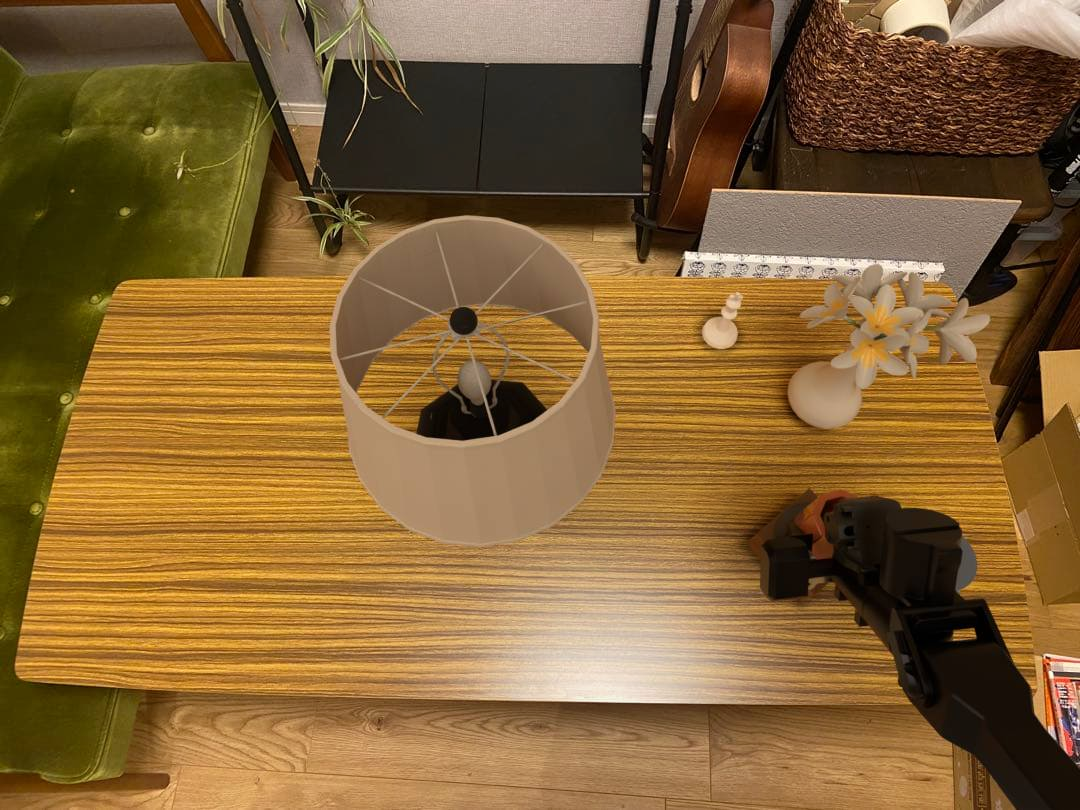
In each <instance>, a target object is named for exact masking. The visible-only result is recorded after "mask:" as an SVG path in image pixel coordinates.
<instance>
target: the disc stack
mask: <svg viewBox="0 0 1080 810" xmlns="http://www.w3.org/2000/svg"><path fill="white" fill-rule="evenodd" d="M960 548H962V551H963V554H962V560H961V565H960V567H959V570H958V575H957V582H956V588H955V590H956V591H957V592H958V594H960V592H961V591H962V590H963V589H966V588H967V587H968V586H969V585H971V584H972V583H973V581H974V580H975V577H976V575H977V573H978V572H977V571H978V560H977V555H976V552H975V550H974V548H973V547H972V545H971V544H970V542H969V541H968V540H967V539H966V538H965V537H964V536H963V535H962V540H961V546H960Z"/></svg>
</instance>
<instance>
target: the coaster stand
mask: <svg viewBox="0 0 1080 810" xmlns="http://www.w3.org/2000/svg"><path fill="white" fill-rule="evenodd" d="M818 497H819V495H817V493H815V492H814V491H813V490H812V489H811V488H810V487H809V488H808V489H807V490H805V491H804V492H803V493H802V494H801V495H799V496H798V498H796V499H795V500H794V501H793V502H791V503H790V504H789V505H788V506H787V507H786V508H785V509H783V510H782V511H781V512H780V513H778V515H776V516H775V517H774V518H773V519H772V520H770V522H768V523H767V524H766V525H765V526H763V527H762V528H761V529H760V530H759V531H758V532H757V533H756V534H754V535H753V537H751V538H750V539H749V540H748V541H747V542H746V543H745V545H746V546H747V547H748V548H749V550H751V552H752V553H753V554H754V555H755V556H756V557H757V558H758V559H759V561H761V547H762V544H763V543H764V542H765V541H766V540H770V539H780V538H786V537H788V536H789V534H788V522H793V521H794V519H795V517H796V516H797V515H798V514H799V513H801V512H802V511H803V510H804V509H805V508H806V507H807V506H809V505H810V504H811V503H812V502H813V501H814V500H815V499H817V498H818ZM823 523H824V521H823ZM827 584H829V583H819V584H816V586H815V587H814V588H813V589H811V590H808V596H807V597H805V598H803V599H796V601H797V602H798V603H799V604H801V603H803V602H805V601H807V600H808V599H811V598H812V597H815V596H816V594H818V593H819V592H820V591H822V589H823V588H824V587H826V586H827Z"/></svg>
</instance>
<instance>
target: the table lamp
mask: <svg viewBox="0 0 1080 810" xmlns="http://www.w3.org/2000/svg"><path fill="white" fill-rule="evenodd" d="M472 307H474V308H475V307H479V308H478V309H477V310H476V311H474V310H473V309H472ZM485 307H498V308H499V307H500V308H508V309H509V308H511V309H517V310H519V311H522V312H525V313H529V315H526V316H522V317H518V318H515V319H510V320H505V321H502V322H499V323H494V324H491V325H489V324H487V323H485V322H480V321H478V315H479V314H480V312H482V310H484V308H485ZM452 310H453V311H452ZM449 311H452V312H451V314H450V316H449V317H447V316H446V315H442V314H443V313H446V312H449ZM435 316H437V317H439V318H440V319H443V320H445V321H447V325H448V329H449V330H448V329H447V330H445V331H440V332H436V333H433V334H429V335H425V336H420V337H417V338H413V339H409V340H405V341H401V342H398V343H393V344H391V343H392V342H393V341H394V340H395V339H396V338H398V337H399V336H401V335H402V334H403V333H405V332H407V331H408V330H410V329H411V328H413V327H414V326H416V325H418V324H419V323H420V322H422V321H425V320H427V319H430V318H432V317H435ZM534 317H542V318H544V319H546V320H548V321H549V322H550V323H552V324H554V325H555V326H557V327H558V328H561V329H562V330H564V331H565V332H567V333H568V334H570V336H571V337H573V338H574V339H575V340H576V341H577V342H578V344H579V345H580V346H581V347H582V348H583V349H584V350H585V351H586V352H587V356H586V359H585V362H584V363H583V366H582V368H581V371H580V373H579V376H578V377H577V378H576V379H574V378H573V377H570V376H568V375H566V374H564V373H562V372H560V371H557V370H556V369H553V368H551V367H550V366H547V365H544V364H543V363H541V362H538V361H536V360H534V359H532V358H530V357H528V356H525V355H524V354H522V353H519V352H517V351H515V350H513V349H511V348H509V346H508V344H507V342H506V340H505V337H503V335H502V334H501V333H500V332H499V331H498V330H497V329H495V328H496V327H499V326H504V325H506V324H512V323H516V322H518V321H519V322H520V321H522V320H526V319H531V318H534ZM485 330H489V331H491V332H492V333H493V334H495V335H496V336H497V337H498V338H499V340H500V341H501V342H502V344H500V343H498V342H496V341H494V340H492V339H489V338H487V337H486V336H483V335H482V334H481V331H485ZM442 335H443V336H442ZM439 336H442V337H441V338H440V340H439V341H438V343H437V345H436V346H435V350H434V353H433V355H432V364H431V365H430V366H429V367H428V369H427V370H425V372H424V373H423V374H422V375H421V376H419V378H418V379H417V380H416V381H415V382H414V383H413V384H412V385H411V386H410V387H409V388H408V389H407V390H406V391H405V392H404V394H403V395H402V396H401V397H400V398H399V399H398V400H397V401H396V402H395V403H394V404H393V405H392V406H391V407H390V408H389V409H388V411H386V413H384V415H379V414H378V413H376V412H375V411H373V410H372V409H371V408H370V407H368V406H367V405H366V404H365V402H364V401H363V400H362V399H361V398H360V396H359V395H358V391H359V388H360V387H361V385H362V383H363V381H364V380H365V378H366V375H367V374H368V372H369V370H370V368H371V366H372V364H373V362H374V361H375V360H376V359H377V358H378V357H379V356H380V355H381V353H382V352H384V350H389V349H393V348H396V347H399V346H404V345H408V344H412V343H416V342H420V341H423V340H427V339H431V338H435V337H439ZM449 336H451V340H452V343H451V344H450V346H448V347H447V348H446V349H445V350H444V352H443V353H441V354H440V356H439V357H438V354H439V350H440V348H441V347H442V345H443V343H444V342H445V341H446V339H447V338H448V337H449ZM471 337H477V338H480V339H482V340H484V341H486V342H488V343H490V344H492V345H494V346H497V347H498V348H501V349H503V350H505V355H506V357H505V363H504V366H503V368H502V370H501V372H500V374H499V376H498V378H497V379H492V376H491V373H490V371H489V369H488V367H487V366H486V365H485V364H484V363H482V362H481V361H479V360H476V359H475V356H474V352H473V348H472V345H471V341H470V338H471ZM464 339H465V340H466V344H467V346H468V347H467V348H468V349H469V350H468V351H469V353H470V357H471V360H467V361H465V362H464V363H463V364H462V365H461V366H460V367H459V369H458V373H457V375H456V377H457V378H456V381H457V384H455V385H454V386H452V387H451V388H450V387H449V386H447V385H446V384H444V382H443V381H442V380H441V379H440V377H439V376H438V372H437V367H436V366H437V364H439V362H440V361H441V360H442V359H443V358H444V356H446V355H447V354H448V352H450V350H451V349H452V348H453V347H454V346H455V345H456V344H458V342H459V341H460V340H464ZM329 348H330V358H331V361H332V363H333V366H334V368H335V372H336V374H337V379H338V386H339V393H340V398H341V405H342V410H343V416H344V421H345V425H346V432H347V442H348V443H347V445H348V452H349V455H350V457H351V460H352V463H353V466H354V469H355V471H356V475H357V477H358V479H359V482H360V484H362V486H363V487H364V488H365V490H366V491H367V493H368V494H369V495H370V496H371V498H372V499H373V501H374V502H375V503H376V505H377V507H378V508H380V510H381V511H382V512H384V513H385V514H386V515H388V516H389V517H390V518H392V519H393V520H394V521H396V522H397V523H398V524H399V525H401V526H402V527H404V528H405V529H406V530H407V531H409V532H412V533H415V534H417V535H420V536H423V537H425V538H427V539H430V540H433V541H436V542H439V543H441V544H444V545H451V546H452V545H454V546H463V547H473V548H486V547H492V546H498V545H506V544H511V543H517V542H518V543H519V542H521V541H524V540H526V539H527V538H530V537H532V536H535V535H537V534H539V533H541V532H543V531H546V530H548V529H550V528H552V527H554V526H555V525H557V524H558V523H559V522H560V521H562V520H563V519H564V518H565V517H566V516H568V515H569V514H571V513H572V512H573V511H574V510H575V509H576V508H578V507H579V506H580V505H582V504H583V502H584V501H585V500H586V499H587V497H588V495H589V494H590V493H591V491H592V490H593V488H594V487H595V486H596V485H597V483H598V482H599V480H600V479H601V478H602V476H603V474H604V471H605V468H606V466H607V463H608V460H609V457H610V455H611V451H612V450H613V446H614V443H615V429H616V415H617V414H616V411H617V410H616V404H615V401H614V397H613V391H612V388H611V383H610V379H609V377H608V372H607V367H606V362H605V357H604V352H603V348H602V342H601V335H600V315H599V310H598V306H597V302H596V298H595V293H594V289H593V287H592V286H591V284H590V282H589V280H588V279H587V277H586V275H585V274H584V272H583V270H582V268H581V267H580V265H579V263H578V262H577V261H576V260H575V259H574V258H572V256H570V255H569V253H567V252H566V251H565V250H564V248H562V247H561V246H560V245H559V244H558V243H557V242H556V241H554V240H553V239H551V238H549V237H548V236H546V235H544V234H542V233H541V232H539V231H537V230H536V229H534V228H532V227H530V226H527V225H524V224H520V223H517V222H514V221H510V220H507V219H504V218H500V217H491V216H480V215H468V214H467V215H458V216H449V217H443V218H436V219H435V218H434V219H432V220H429V221H426V222H423V223H419V224H417V225H414V226H412V227H408V228H406V229H403V230H401V231H399V232H398V233H396V234H395V235H393V236H392V237H390V238H388V239H387V240H385V241H382V243H380V244H378V245H377V246H375V247H374V248H373V249H372V250H371V251H370V252H369V253H368V254H367V255H366V256H365V257H364V258H363V259H362V260H361V261H360V262H359V263H357V265H356V266H355V267H354V268H353V269H352V271H351V272H350V274H349V276H348V277H347V279H346V281H345V282H344V284H343V286H342V287H341V289H340V291H339V292H338V294H337V296H336V300H335V303H334V307H333V311H332V314H331V319H330V322H329ZM510 353H511V354H513V355H516V356H517V357H519V358H522V359H524V360H526V361H528V362H531V363H533V364H534V365H536V366H539V367H541V368H543V369H545V370H547V371H549V372H551V373H554V374H556V375H558V376H560V377H562V378H564V379H566V380H568V381H571V382H573V383H572V385H571V386H570V387H569V388H568V390H567V391H566V392H565V394H564V395H562V397H561V398H560V400H559V401H558V402H556V403H555V404H554V405H552V406H550V407H549V408H548V409H547V407H546V406H545V405H544V404H543V403H542V401H540V400H539V399H538V397H537V396H536V395H535V394H534V393H533V392H532V391H531V389H529V387H528V386H527V385H526V384H525V383H524V382H523V381H516V380H515V381H514V380H504V379H503V377H504V376H505V374H506V371H507V369H508V366H509V364H510ZM437 357H438V358H437ZM431 370H432V372H433V375H434V378H435V380H436V381H437V383H438V384H439V385H440V386H441V387H443V389H445V390H446V391H445V392H444V393H442V394H441V395H439V396H438V397H437V398H436V399H434V400H433V401H431V402H430V403H428V404H427V405H425V406H424V407H422V408H421V409H420V412H419V418H418V423H417V429H416V433H415V432H412V431H410V430H406V429H404V428H401V427H399V426H396V425H393V424H392V423H390V422H389V421H388V420H386V418H387V417H388V415H389V414H391V412H392V411H393V410H394V409H396V407H397V406H398V405H399V404H400V403H402V401H403V400H404V399H405V398H406V396H408V394H409V393H411V391H412V390H414V388H415V387H416V386H417V385H418V384H419V383H420V382H421V381H422V380H423V379H424V378H425V377H426V376H427V375H428V374H429V372H431ZM502 379H503V380H502Z"/></svg>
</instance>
